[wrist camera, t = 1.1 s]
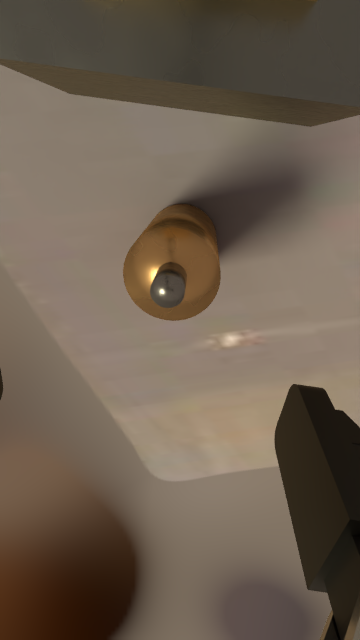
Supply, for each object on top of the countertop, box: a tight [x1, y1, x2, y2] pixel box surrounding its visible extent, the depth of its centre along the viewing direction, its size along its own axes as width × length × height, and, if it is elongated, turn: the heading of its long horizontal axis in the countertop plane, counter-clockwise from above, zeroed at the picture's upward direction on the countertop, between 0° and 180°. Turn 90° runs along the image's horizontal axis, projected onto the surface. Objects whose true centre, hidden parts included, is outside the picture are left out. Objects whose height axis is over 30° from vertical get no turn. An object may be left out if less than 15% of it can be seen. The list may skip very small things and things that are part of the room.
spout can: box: [123, 204, 220, 321], centre depth 19 cm, size 5×5×10 cm
